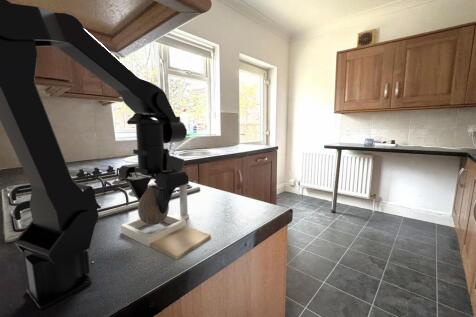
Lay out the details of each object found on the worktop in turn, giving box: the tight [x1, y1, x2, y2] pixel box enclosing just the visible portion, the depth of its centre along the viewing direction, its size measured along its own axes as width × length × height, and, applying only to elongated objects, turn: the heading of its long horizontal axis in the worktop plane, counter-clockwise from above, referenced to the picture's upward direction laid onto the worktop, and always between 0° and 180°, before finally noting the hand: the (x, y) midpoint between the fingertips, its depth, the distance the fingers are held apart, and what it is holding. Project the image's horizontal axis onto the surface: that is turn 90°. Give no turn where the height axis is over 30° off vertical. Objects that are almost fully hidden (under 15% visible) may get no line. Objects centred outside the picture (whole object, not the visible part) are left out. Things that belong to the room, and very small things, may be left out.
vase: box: [137, 184, 170, 226], centre depth 52 cm, size 7×7×9 cm
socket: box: [120, 184, 190, 247], centre depth 54 cm, size 16×11×10 cm
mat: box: [149, 225, 212, 260], centre depth 48 cm, size 10×10×1 cm
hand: (153, 209), depth 52 cm, fingers closed on vase, 7 cm apart
